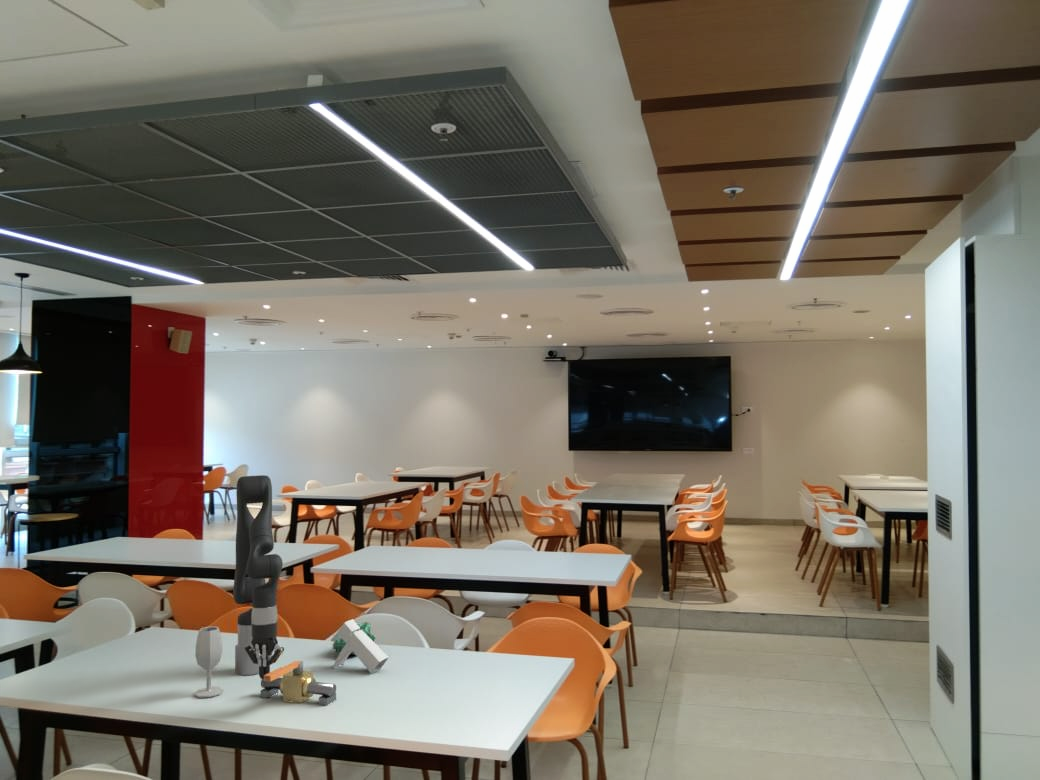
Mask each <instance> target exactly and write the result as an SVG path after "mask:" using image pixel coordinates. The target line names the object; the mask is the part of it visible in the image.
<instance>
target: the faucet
mask: <svg viewBox="0 0 1040 780" xmlns="http://www.w3.org/2000/svg"><path fill="white" fill-rule="evenodd" d="M339 636H340V637H341V638H342V639H343V640H344V641H345V642H346V644H345V646H344V647H343V649H342V651H341V652H340V653H338V655H337V657H336V659H335V661H334V663H333V665H332V666H333V668H334V667H337V666H339V665H341V666H342V664H343V665H344V664H345V663H346V661H347V659H348V658H349V656H350V655H351V652H352V651H353V652H354V653H355V654H356V655H355V654H354V655H355V656H356V657H357V658H358V660H359V661H360V662H361V663H362V664H363V666H364V667H365V668H366V670H367V671H368V672H369V673H370V674H374V673H375V671H376V672H377V670H378V671H379V670H381V669H382V668H383V666H384V665H385V663H386V662H387V661H388V659H389V658H390V657H389V656H388V655H387V653H385V652H384V651H383V650H382V648H380V647H379V645H377V644H376V642H373V641H372V640H371V639H370V638H369V637H368V636H367V635H366V634H365V633H364V632H363V631H362V630H360V627H359V626H358V623H357V622H356V621H355V619H353V618H352V619H349V620H347V621H345V622H343V624H342V625H341V626H340V627H339V629H338V630H337V632H336V634H334V635H333V636H332V638H331V640H330V641H331V642H334V641H336V640H337V639H338V637H339ZM339 667H340V666H339ZM337 668H338V667H337ZM373 672H374V673H373Z"/></svg>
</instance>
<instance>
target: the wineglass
mask: <svg viewBox="0 0 1040 780" xmlns="http://www.w3.org/2000/svg"><path fill="white" fill-rule="evenodd" d="M195 643H196V644H195V659H196V664H197V665H198V666H199V667H201V668H202V669H203V670H204V671H205V672H206V687H204V688H203V687H202V688H200V689H197V690H196V691H195V692H194V697H196V698H198V699H205V698H213V697H217V696H219V695H221V694H222V693H223V691H224V688H222V687H220V686H212V670H213V669H214V668H216V666H217V665H219V663H220V662H221V659H222V654H223V641H222V633H221V631H220V628H219V627H218V626H216V625H215V626H206V627H205V626H204V627H201V628H199V630H198V634H197V637H196V642H195Z"/></svg>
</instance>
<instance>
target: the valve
mask: <svg viewBox="0 0 1040 780" xmlns="http://www.w3.org/2000/svg"><path fill="white" fill-rule="evenodd" d="M260 687H261V690H260V698H262V697H270V696H272V695H274V694H275V695H277V694H279V691H280V693H281V695H282V701H283V700H286V701H285V702H288V701H292V702H291V703H296V702H299V703H298V704H303V703H305V702H306V701H308V700H310V699H311V698H310V697H312V696H313V697H314V695H318V696H319V695H320V696H319V697H318V705H319V704H321V705H320V706H325V705H327V706H329V705H331V704H332V703H334V702H335V701H334V700H336V701H337V693H336V692H337V685H336V684H335V683H330V682H329V683H328V682H318V681H316V678H315V677H314V671H313V670H305V669H303V673H300V674H294V673H293V670H291V671H289V672H287V674H285V675H283V676H282V677H279V678H276V679H274V680H272V681H264V679H261V681H260ZM276 693H277V694H276ZM275 695H274V696H275ZM272 697H273V696H272ZM313 697H312V698H313ZM270 698H271V697H270ZM309 698H310V699H309ZM307 699H308V700H307ZM305 700H306V701H305ZM304 701H305V702H304ZM333 701H334V702H333ZM302 702H303V703H302ZM331 702H332V703H331ZM330 703H331V704H330ZM328 704H329V705H328Z"/></svg>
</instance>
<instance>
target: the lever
mask: <svg viewBox="0 0 1040 780" xmlns="http://www.w3.org/2000/svg"><path fill="white" fill-rule="evenodd" d="M292 670H293V673H294V674H300V673H303V670H304V661H302V660H294V661H293V662H291V663H289V664H286V665H284V666H280V667H278V668H276V669H274V670H272V671H270V673H268V674H266V675H264V681H272V680H274V679H276V678H282V677H283V675H285V674H287V673H288V672H290V671H292Z"/></svg>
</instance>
